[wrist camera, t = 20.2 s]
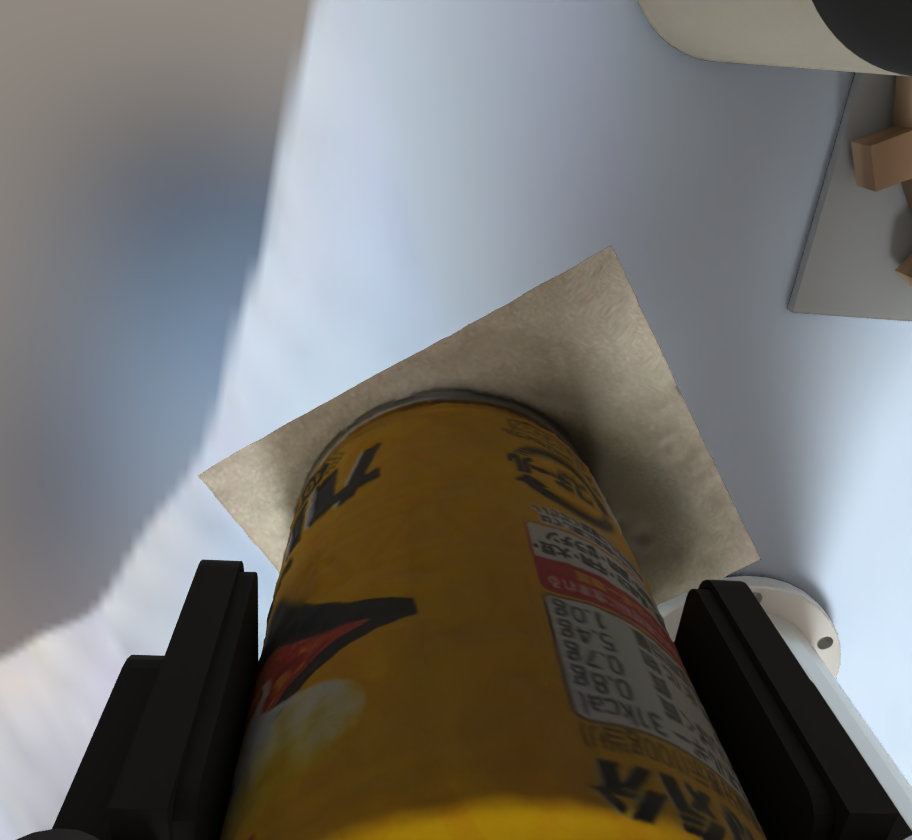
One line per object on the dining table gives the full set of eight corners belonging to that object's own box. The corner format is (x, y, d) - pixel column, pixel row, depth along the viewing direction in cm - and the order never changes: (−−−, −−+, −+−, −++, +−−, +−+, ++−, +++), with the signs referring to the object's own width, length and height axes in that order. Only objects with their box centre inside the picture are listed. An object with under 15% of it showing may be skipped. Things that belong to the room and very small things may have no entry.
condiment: (200, 469, 15) (-344, 1600, 4) (608, 243, 14) (1462, 979, 3) (400, 719, 18) (406, 1777, 7) (754, 550, 16) (1457, 1513, 6)
